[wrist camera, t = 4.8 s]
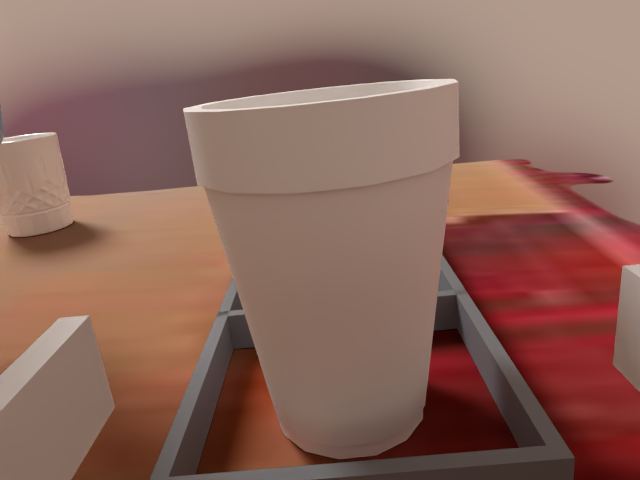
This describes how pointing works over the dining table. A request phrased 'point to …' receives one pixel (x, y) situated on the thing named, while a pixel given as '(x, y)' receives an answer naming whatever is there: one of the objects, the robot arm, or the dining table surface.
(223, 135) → the foam cup
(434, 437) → the dining table surface
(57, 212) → the white cup
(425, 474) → the grey flat rectangular tray
